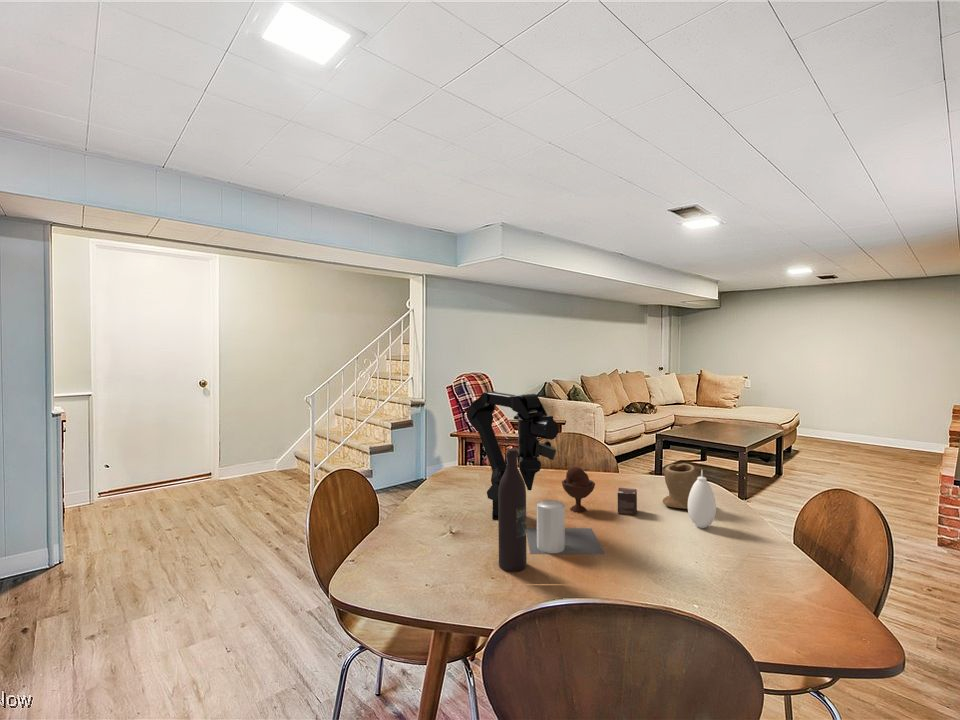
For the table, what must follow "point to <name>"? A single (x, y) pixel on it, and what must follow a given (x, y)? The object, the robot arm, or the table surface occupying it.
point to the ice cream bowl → (577, 487)
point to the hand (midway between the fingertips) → (528, 485)
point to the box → (627, 501)
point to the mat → (570, 542)
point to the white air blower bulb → (701, 503)
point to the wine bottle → (512, 517)
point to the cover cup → (550, 526)
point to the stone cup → (679, 484)
